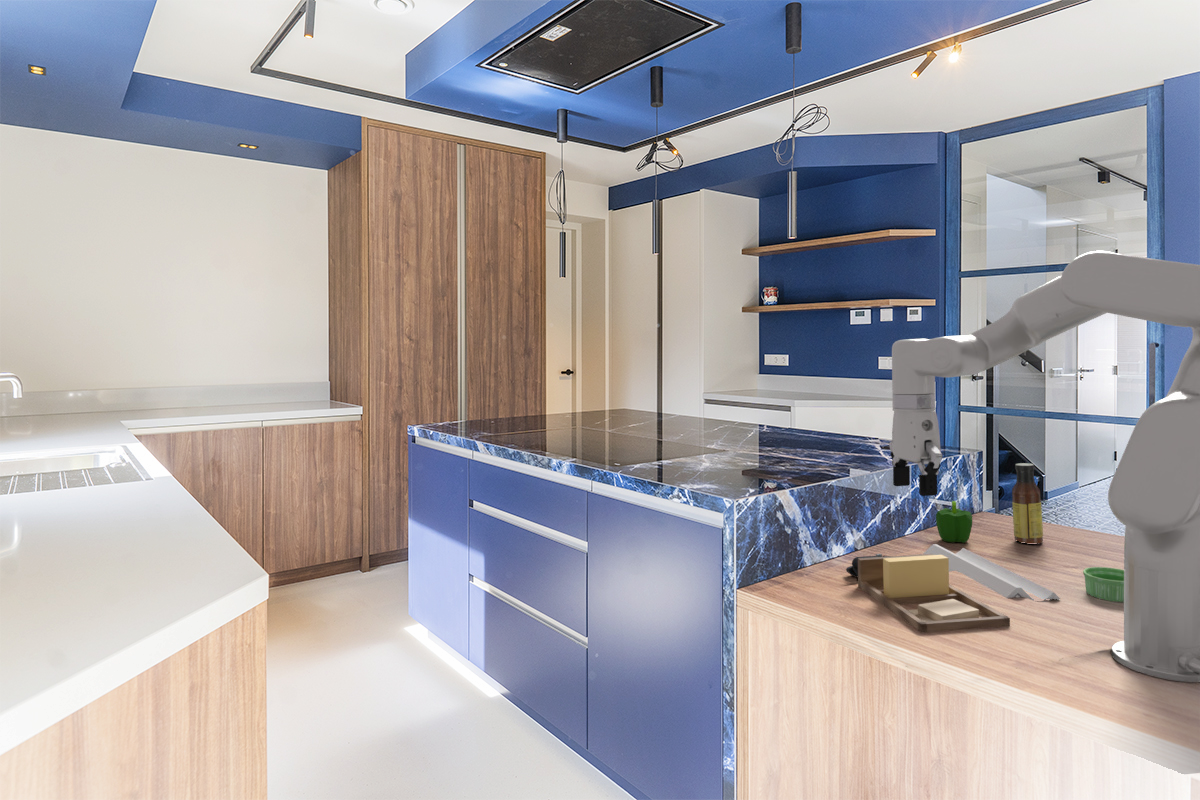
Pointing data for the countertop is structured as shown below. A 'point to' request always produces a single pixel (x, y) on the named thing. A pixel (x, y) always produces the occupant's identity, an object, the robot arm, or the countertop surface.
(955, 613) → the offcut upper
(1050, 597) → the crown molding
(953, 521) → the bell pepper
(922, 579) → the panel
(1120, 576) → the ramekin
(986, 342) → the robot arm
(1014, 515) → the sauce bottle
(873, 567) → the rack
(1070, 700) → the countertop surface
